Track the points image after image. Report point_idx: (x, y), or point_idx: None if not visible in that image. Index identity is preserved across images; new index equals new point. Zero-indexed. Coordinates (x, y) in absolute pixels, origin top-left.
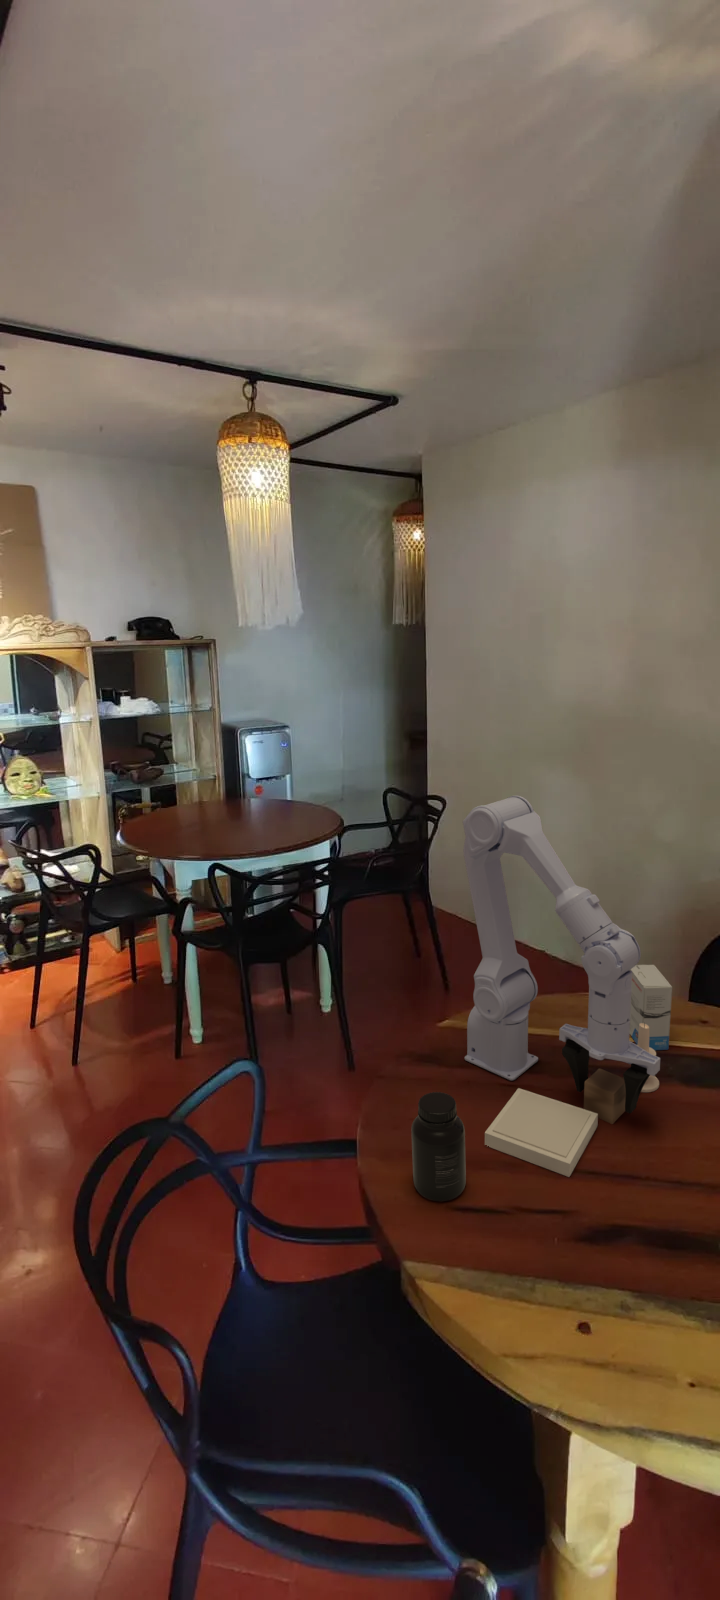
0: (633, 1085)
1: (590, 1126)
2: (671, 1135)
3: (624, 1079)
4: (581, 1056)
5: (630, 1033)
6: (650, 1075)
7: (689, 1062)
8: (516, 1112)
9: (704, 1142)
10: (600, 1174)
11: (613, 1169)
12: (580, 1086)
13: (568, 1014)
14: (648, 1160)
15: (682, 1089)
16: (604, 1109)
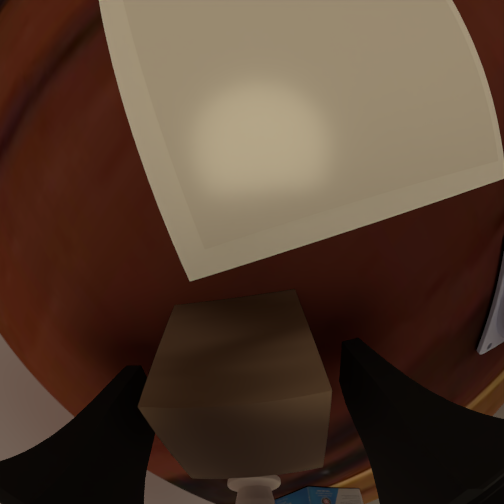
0: (25, 462)
1: (146, 167)
2: (68, 364)
3: (42, 489)
4: (413, 493)
5: (342, 490)
6: (228, 481)
7: (230, 498)
8: (435, 21)
9: (38, 378)
10: (52, 66)
11: (38, 116)
12: (352, 360)
13: None
14: (18, 238)
15: (184, 470)
16: (201, 329)
